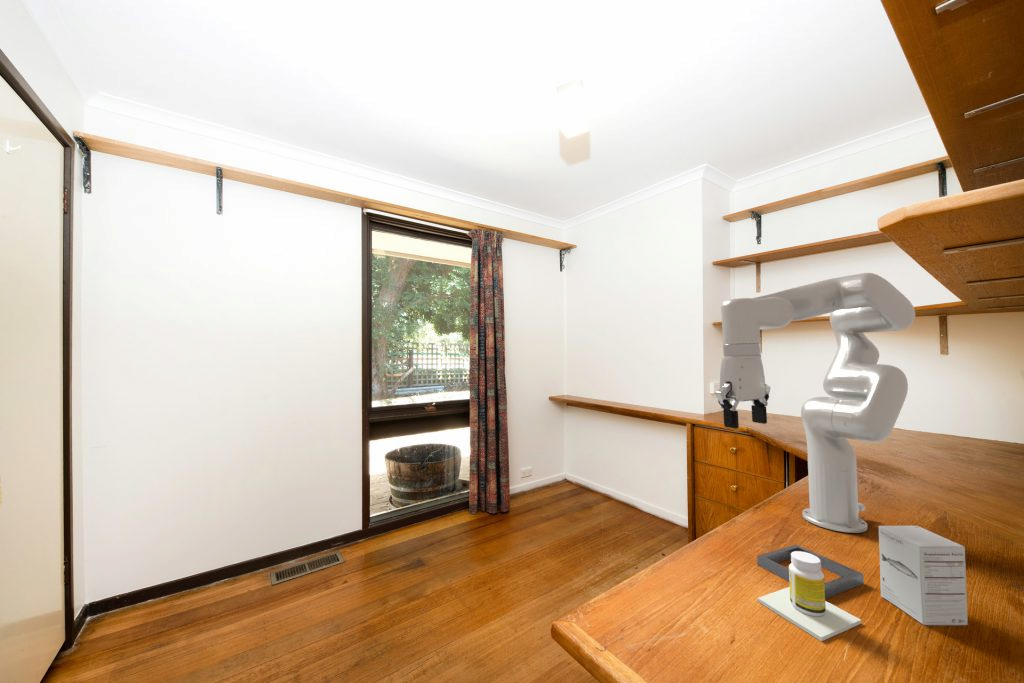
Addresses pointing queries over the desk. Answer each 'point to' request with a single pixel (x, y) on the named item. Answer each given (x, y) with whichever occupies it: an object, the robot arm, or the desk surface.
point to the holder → (831, 587)
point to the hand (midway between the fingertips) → (745, 425)
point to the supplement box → (923, 575)
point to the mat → (814, 625)
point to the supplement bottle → (807, 584)
